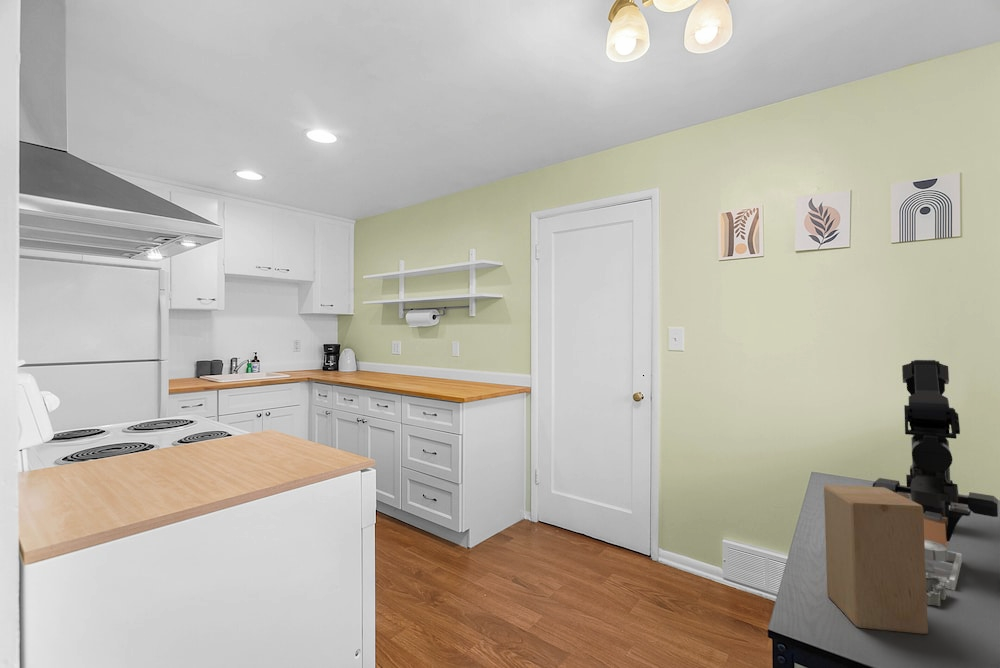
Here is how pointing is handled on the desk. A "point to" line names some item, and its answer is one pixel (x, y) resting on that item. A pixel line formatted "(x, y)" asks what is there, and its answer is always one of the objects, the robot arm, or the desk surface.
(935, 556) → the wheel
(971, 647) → the desk surface
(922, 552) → the wooden block
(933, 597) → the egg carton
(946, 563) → the chassis
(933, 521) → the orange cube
